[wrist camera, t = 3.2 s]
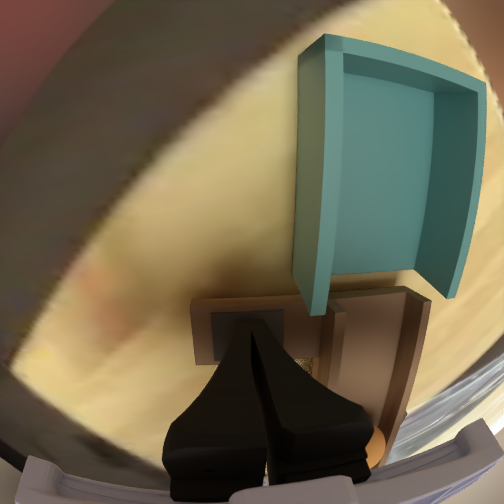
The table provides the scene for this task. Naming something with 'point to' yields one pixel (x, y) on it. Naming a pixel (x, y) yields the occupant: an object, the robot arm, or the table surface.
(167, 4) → the table surface
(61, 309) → the table surface
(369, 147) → the teal open-ended tray
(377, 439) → the ball
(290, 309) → the lever
